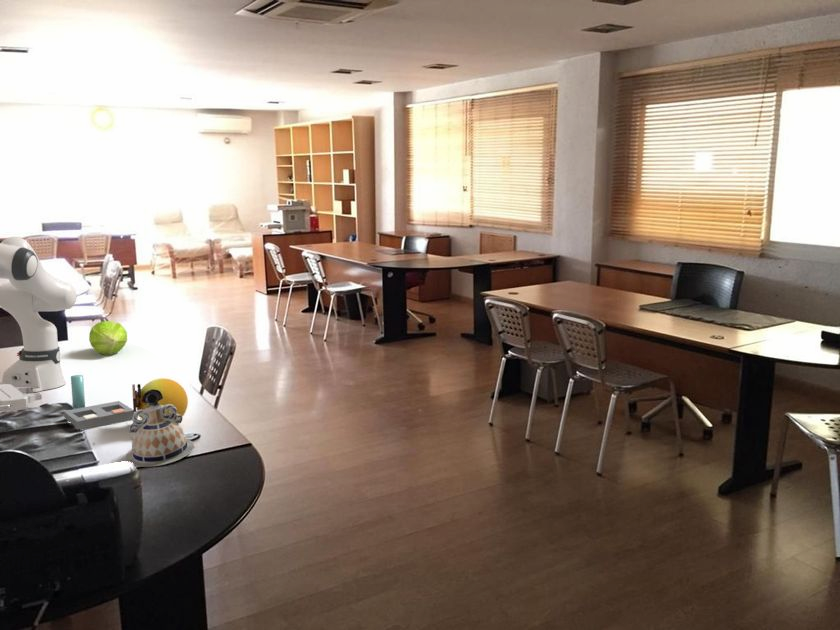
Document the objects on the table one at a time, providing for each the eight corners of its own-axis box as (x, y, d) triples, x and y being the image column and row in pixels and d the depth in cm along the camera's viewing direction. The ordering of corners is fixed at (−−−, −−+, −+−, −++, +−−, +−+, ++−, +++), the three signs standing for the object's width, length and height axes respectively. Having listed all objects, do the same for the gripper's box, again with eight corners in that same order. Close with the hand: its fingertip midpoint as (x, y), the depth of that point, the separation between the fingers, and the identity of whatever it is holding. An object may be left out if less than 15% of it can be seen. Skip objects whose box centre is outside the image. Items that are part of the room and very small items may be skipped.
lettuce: (134, 353, 298) (96, 362, 290) (125, 343, 317) (89, 351, 309) (128, 322, 294) (89, 329, 286) (119, 313, 313) (82, 320, 305)
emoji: (134, 420, 215) (131, 375, 213) (186, 415, 221) (184, 371, 219) (134, 437, 201) (132, 388, 198) (190, 431, 207) (189, 383, 204)
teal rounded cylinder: (71, 413, 221) (69, 377, 219) (75, 409, 224) (73, 375, 222) (83, 413, 221) (80, 377, 219) (87, 409, 225) (84, 374, 223)
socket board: (64, 420, 214) (63, 410, 213) (119, 409, 226) (118, 400, 225) (77, 431, 205) (77, 420, 204) (134, 419, 216) (134, 409, 216)
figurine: (125, 473, 177) (117, 400, 174) (125, 451, 193) (117, 385, 190) (197, 460, 184) (190, 390, 181) (191, 440, 200) (184, 376, 197)
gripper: (-7, 398, 195) (45, 390, 205) (-23, 384, 210) (26, 377, 219) (-6, 419, 196) (47, 410, 206) (-22, 403, 211) (28, 395, 220)
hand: (36, 392), depth 213 cm, fingers open, 8 cm apart
